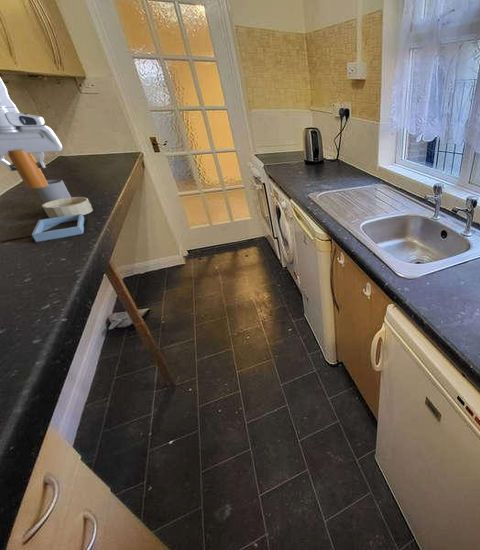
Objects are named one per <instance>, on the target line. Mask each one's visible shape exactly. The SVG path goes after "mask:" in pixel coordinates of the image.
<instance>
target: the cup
mask: <svg viewBox="0 0 480 550" xmlns="http://www.w3.org/2000/svg"><path fill="white" fill-rule="evenodd" d="M46 181H47V183H48V184H49V185H48V186H46V187H41V188H35V190H36V191H37V193H38V195H39V196H40V198H41V200H42V201H43V204H44V203H46V202H49V201H53V200H57V199H62V198H70V197H72V196H71V194H70V192H69V190H68V189H67V186H66V185H65V183H64V181H63V179H48V180H47V179H46Z"/></svg>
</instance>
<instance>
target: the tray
mask: <svg viewBox="0 0 480 550" xmlns="http://www.w3.org/2000/svg"><path fill="white" fill-rule="evenodd" d="M75 221H77V224H76V226H72V227H66V228H60V229H53V230H49V229H52V228H53V227H55V226H56V227H57V226H58V225H60V224H62V223H70V222H75ZM84 224H85V217H84V215H82V214H75V215H69V216H62V217H55V218H48V217H47V218H43V219H38V221H37V223H36V225H35V227H34V229H33V231H32V232H31V236H32V238H33V239H34V241H35V242H36V243H39V242H44V241H49V240H56V239H63V238H67V237H72V236H73V237H74V236H77V235H78V236H79V235H83V234H84V231H85V226H84Z"/></svg>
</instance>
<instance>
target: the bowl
mask: <svg viewBox="0 0 480 550" xmlns="http://www.w3.org/2000/svg"><path fill="white" fill-rule="evenodd" d="M41 208H42V209H43V211H44V213H45V215H46V216H47V219H48V218H55V217H62V216H69V215H75V214H82V215H83V216H86V215H87V214H90V213H92V212H93V211H94V208H93V206H92V204H91V202H90V200H89V198H88V197H84V196H71V197H70V198H62V199H57V200H53V201H49V202H46V203H44V202H43V203H42V204H41Z"/></svg>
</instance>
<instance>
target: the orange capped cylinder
mask: <svg viewBox="0 0 480 550" xmlns="http://www.w3.org/2000/svg"><path fill="white" fill-rule="evenodd" d="M8 152H9V155H7V156H8V157H9V159H10V161H11V164H14V166H15V168H16V169H17V170H16V171H17V173H18V175H19V176H20V178H21V179H22V182H23V183H24V185H25V187H26V188H27V189H36V188H41V187H46V186H48V185H49V184H48V183H47V179H46V177H45V175H44V173H43V172H42V170H41V168H38V165H37V164H36V162H37V160H36V158H35V157H34V155H33V153H26V152H25V150H15V151H8Z"/></svg>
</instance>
